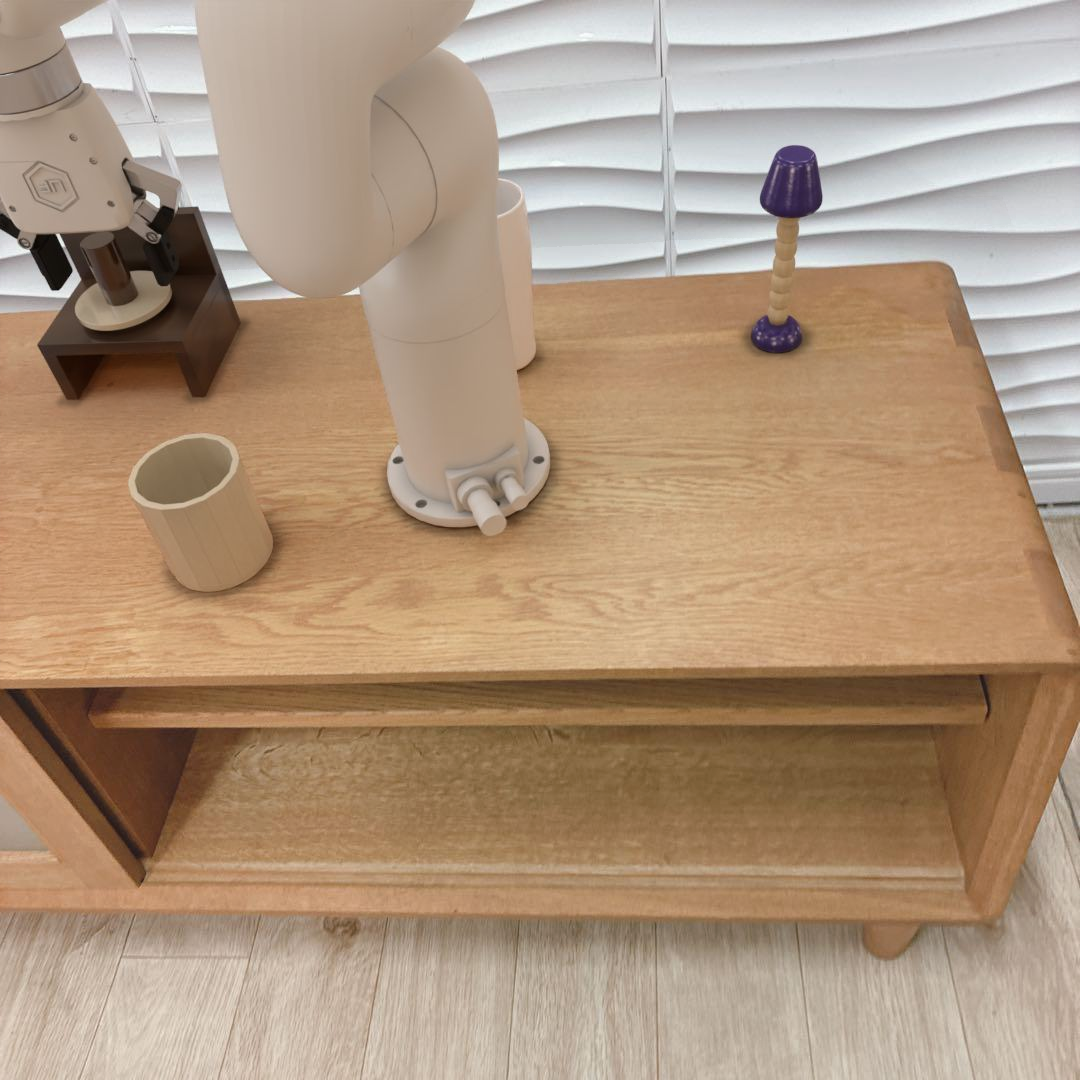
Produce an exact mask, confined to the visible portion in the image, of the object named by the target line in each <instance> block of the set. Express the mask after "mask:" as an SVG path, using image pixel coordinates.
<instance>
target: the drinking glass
mask: <svg viewBox="0 0 1080 1080" xmlns="http://www.w3.org/2000/svg"><path fill="white" fill-rule="evenodd" d="M497 223H498V238H499V249H500V257H501V264H502V272H503V279H504V285H505V296H506V303H507V310H508V316H509V323H510V330H511V336H512V343H513V350H514V356H515V363H516V370H517V371H519V370H521V369H524V368H525V367H526V366H528V365H530V363H531V362H532V361H533V360H534V358H535V356H536V352H537V341H536V334H535V318H534V316H535V315H534V314H535V313H534V289H533V286H534V285H533V283H534V282H533V255H532V254H533V253H532V251H533V250H532V237H531V228H530V227H531V226H530V218H529V213H528V208H527V202H526V196H525V192H524V189H523V188H522V187H521V186H520V185H519V184H517V183H516V182H515V181H513V180H509V179H506V178H499V177H498V197H497Z"/></svg>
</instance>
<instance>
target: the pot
mask: <svg viewBox="0 0 1080 1080" xmlns="http://www.w3.org/2000/svg"><path fill="white" fill-rule="evenodd" d="M127 485H128V490H129V494H130V497H131V499H132V501H133V503H134V504H135V507H136V509H137V510H138V512H139V514H140V516H141V518H142V520H143V521H144V524H145V525H146V527H147V529H148V531H149V533H150V535H151V536H152V538H153V540H154V543H155V544H156V546H157V548H158V550H159V552H160V553H161V556H162V557H163V559H164V561H165V563H166V565H167V567H168V569H169V570H170V572H171V574H172V575H173V576H174V579H176V580H177V582H178V583H179V584H181V585H182V586H184V587H186V588H187V589H190V590H193V591H197V592H201V593H203V592H204V593H211V592H212V593H213V592H221V591H224V590H228V589H231V588H232V589H233V588H234V587H237V586H239V585H241V584H243V583H245V582H247V581H248V580H250V579H251V578H253V577H254V576H255V575H256V574H258V573H259V572H260V571H261V570H262V569H263V568H264V567H265V565H266V564H267V562H268V561H269V559H270V557H271V555H272V552H273V549H274V537H273V534H272V531H271V530H270V526H269V523H268V521H267V519H266V516H265V514H264V512H263V509H262V507H261V504H260V502H259V499H258V497H257V494H256V492H255V490H254V487H253V484H252V482H251V480H250V478H249V475H248V472H247V470H246V468H245V465H244V463H243V460H242V458H241V456H240V453H239V451H238V449H237V445H235V444H234V443H233V442H232V441H230V440H229V439H227V438H226V437H225V436H222V435H218V434H213V433H210V432H209V433H207V432H201V433H200V432H199V433H189V434H183V435H180V436H177V437H174V438H171V439H167V440H165V441H162V442H161V443H159V444H158V445H157V446H155V447H153V448H152V449H150V450H148V451H147V452H146V453H144V454H143V455H142V457H141V458H140V459H139V460H138V461H137V462H136V464H134V465H133V467H132V469H131V472H130V475H129V478H128V480H127Z"/></svg>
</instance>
